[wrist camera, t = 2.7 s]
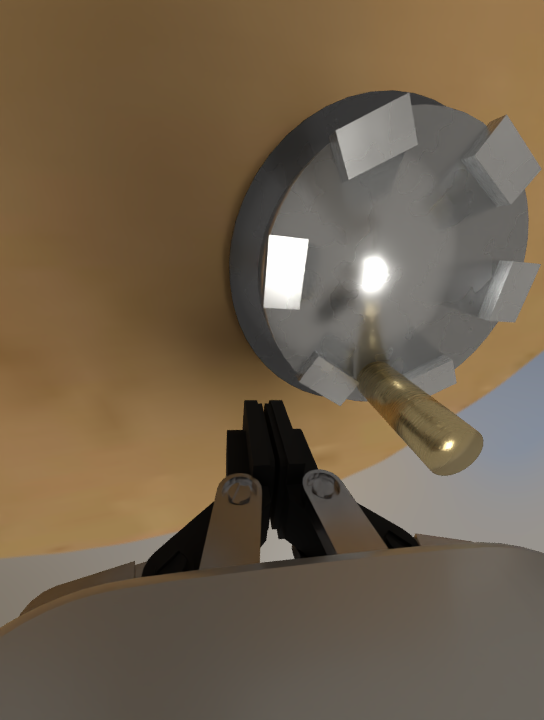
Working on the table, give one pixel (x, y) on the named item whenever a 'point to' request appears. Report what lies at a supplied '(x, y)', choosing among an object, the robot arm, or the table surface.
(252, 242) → the dark grey round base
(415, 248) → the grey tabbed disc
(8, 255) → the table surface
